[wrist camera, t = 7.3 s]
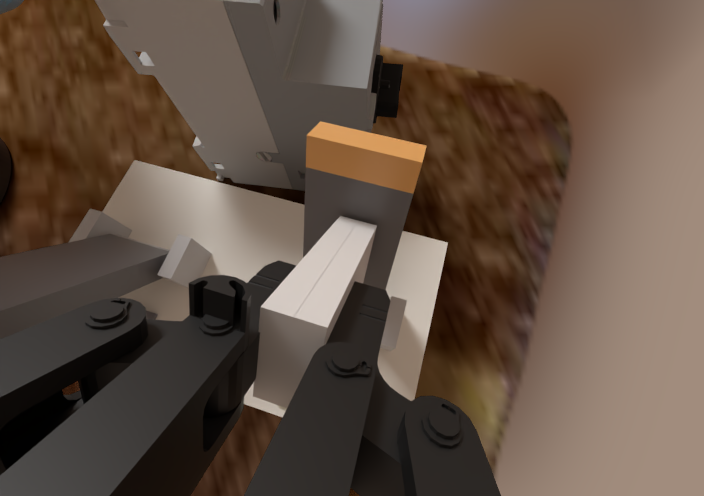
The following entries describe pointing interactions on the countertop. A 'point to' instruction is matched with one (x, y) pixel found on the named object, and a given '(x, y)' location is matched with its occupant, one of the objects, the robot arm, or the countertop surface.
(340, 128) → the lever
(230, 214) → the console
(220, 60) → the circuit breaker
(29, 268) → the lever
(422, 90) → the countertop surface
